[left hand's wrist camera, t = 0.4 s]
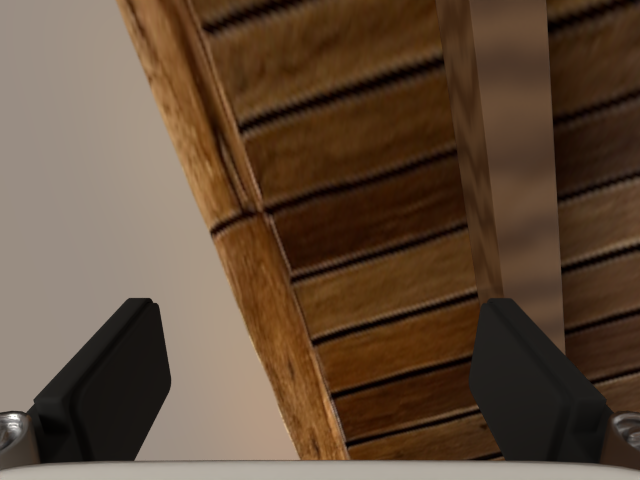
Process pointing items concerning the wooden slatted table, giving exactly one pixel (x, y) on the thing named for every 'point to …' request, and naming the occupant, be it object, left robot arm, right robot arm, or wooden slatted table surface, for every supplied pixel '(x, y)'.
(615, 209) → the wooden slatted table surface
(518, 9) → the beam
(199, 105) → the wooden slatted table surface
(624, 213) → the wooden slatted table surface
